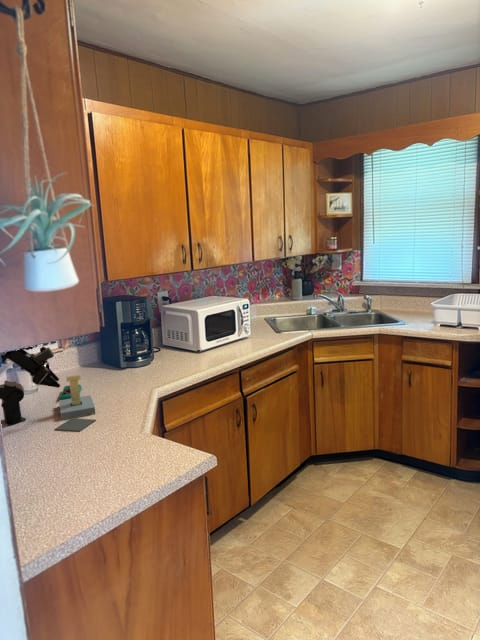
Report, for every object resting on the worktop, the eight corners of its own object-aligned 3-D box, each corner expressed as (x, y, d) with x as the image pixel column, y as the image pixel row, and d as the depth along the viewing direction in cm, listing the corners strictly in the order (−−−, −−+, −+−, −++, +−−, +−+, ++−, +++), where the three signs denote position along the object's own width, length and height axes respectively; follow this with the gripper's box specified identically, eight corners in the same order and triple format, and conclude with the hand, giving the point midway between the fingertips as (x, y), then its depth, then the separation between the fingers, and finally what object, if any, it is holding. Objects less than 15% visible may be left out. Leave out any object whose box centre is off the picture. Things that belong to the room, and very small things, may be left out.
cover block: (61, 419, 176) (60, 413, 175) (59, 406, 190) (58, 400, 190) (95, 413, 180) (94, 407, 180) (90, 401, 195) (90, 395, 194)
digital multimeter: (59, 402, 196) (58, 396, 196) (64, 391, 210) (63, 385, 210) (78, 400, 198) (77, 393, 197) (82, 390, 212) (81, 383, 211)
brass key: (70, 412, 183) (66, 378, 180) (69, 409, 185) (65, 376, 183) (84, 410, 185) (80, 376, 182) (83, 407, 187) (79, 374, 185)
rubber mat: (54, 430, 166) (54, 429, 166) (71, 419, 175) (71, 418, 175) (79, 431, 163) (79, 430, 163) (95, 420, 173) (95, 419, 173)
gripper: (38, 346, 168) (75, 372, 174) (38, 337, 185) (71, 361, 191) (16, 372, 166) (54, 396, 172) (18, 360, 183) (52, 383, 189)
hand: (59, 383), depth 181 cm, fingers open, 9 cm apart
